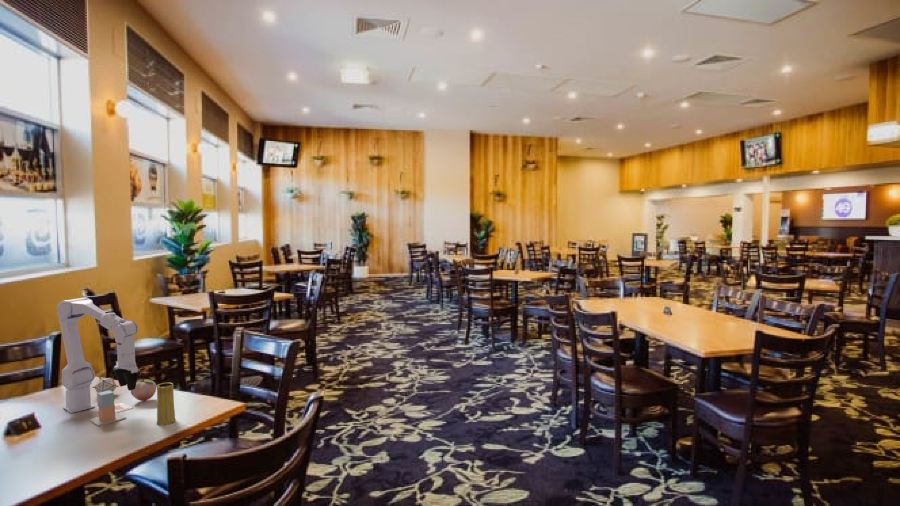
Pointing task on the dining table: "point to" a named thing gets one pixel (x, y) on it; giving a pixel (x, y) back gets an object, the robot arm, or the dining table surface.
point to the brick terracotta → (107, 413)
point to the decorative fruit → (144, 390)
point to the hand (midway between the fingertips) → (127, 387)
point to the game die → (105, 385)
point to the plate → (101, 423)
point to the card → (121, 407)
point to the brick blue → (105, 399)
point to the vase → (165, 404)
